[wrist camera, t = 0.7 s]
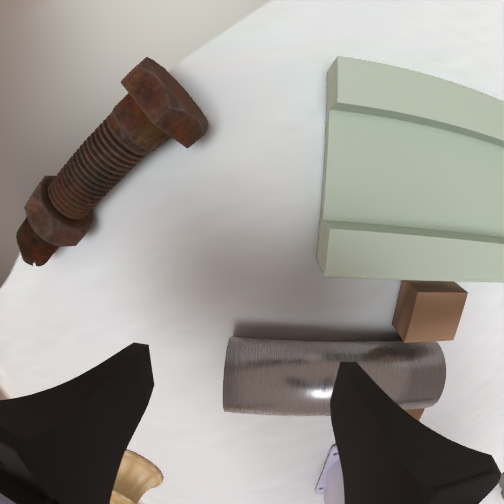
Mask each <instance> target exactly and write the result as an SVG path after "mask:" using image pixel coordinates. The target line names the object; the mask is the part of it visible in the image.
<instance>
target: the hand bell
mask: <svg viewBox="0 0 504 504" xmlns="http://www.w3.org/2000/svg"><path fill="white" fill-rule="evenodd" d="M162 481H163V476H162V473H161V472H160V470H159V469H158V468H157V467H156V466H155V465H154V464H153V463H151V462H150V461H148V460H147V459H145V458H144V457H142V456H140V455H138V454H136V453H134V452H132V451H129V450H126V451H125V453H124V455H123V458H122V461H121V464H120V467H119V470H118V473H117V477H116V480H115V484H114V487H113V491H112V495H111V499H110V503H109V504H137V503H138V501H139V500H140V498H141V497H142V495H143V494H144V493H145V492H146V491H147V490H149V489H150V488H154V487H157V486H158V485H160V484H161V483H162Z"/></svg>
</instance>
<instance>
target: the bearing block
mask: <svg viewBox="0 0 504 504" xmlns="http://www.w3.org/2000/svg"><path fill="white" fill-rule="evenodd" d="M467 294H468V292H467V291H465V290H464V289H463V288H462V287H460V286H459V285H458V284H457V283H455V282H454V281H422V280H402V283H401V288H400V293H399V297H398V302H397V306H396V310H395V314H394V318H393V323H392V324H393V326H394V328H395V329H396V331H397V332H398V334H399V335H400V337H401V339H402V340H403V342H404V343H412V342H431V341H446V340H453V339H454V336H455V333H456V330H457V327H458V324H459V321H460V318H461V315H462V311H463V308H464V305H465V301H466V298H467ZM424 409H425V408H420V409H412V410H405V411H406V412H407V413H408V414H410V415H411V416H412V417H414V418H415V419H416V420H418V421H419V419H420V417H421V415H422V413H423V411H424Z"/></svg>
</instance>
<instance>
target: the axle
mask: <svg viewBox="0 0 504 504" xmlns="http://www.w3.org/2000/svg"><path fill="white" fill-rule="evenodd" d="M340 362H357V363H358V364H359V365H360V366H361V368H362V369H363V370H364V371H365V372H366V373H367V374H368V375H369V376H370V377H371V378H372V380H373V381H374V382H375V383H376V384H377V385H378V386H379V387H380V388H381V389H382V390H383V391H384V392H385V393H386V394H387V395H388V396H389V397H390V398H391V399H392V400H393V401H394V402H396V403H397V404H398V405H399V406H400V407H401V408H402V409H404V410H412V409H420V408H427V407H431V406H433V405H434V404H435V403H436V402H437V401H438V400H439V398H440V396H441V394H442V392H443V388H444V384H445V379H446V364H445V358H444V354H443V351H442V349H441V347H440V346H439V344H438V343H437V342H436V341H431V342H412V343H404V342H403V341H364V342H340V341H296V340H273V339H256V338H241V337H230V338H229V342H228V346H227V352H226V359H225V367H224V379H223V409H224V412H233V413H245V414H260V415H281V416H331V409H330V399H331V395H332V391H333V388H334V384H335V380H336V377H337V373H338V369H339V365H340Z"/></svg>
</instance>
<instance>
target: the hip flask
mask: <svg viewBox="0 0 504 504" xmlns="http://www.w3.org/2000/svg"><path fill="white" fill-rule="evenodd" d="M499 484H500V486H501V488H502V492H501V495H502V497H503V499H504V473H502V474H501V478H500V480H499Z"/></svg>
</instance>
